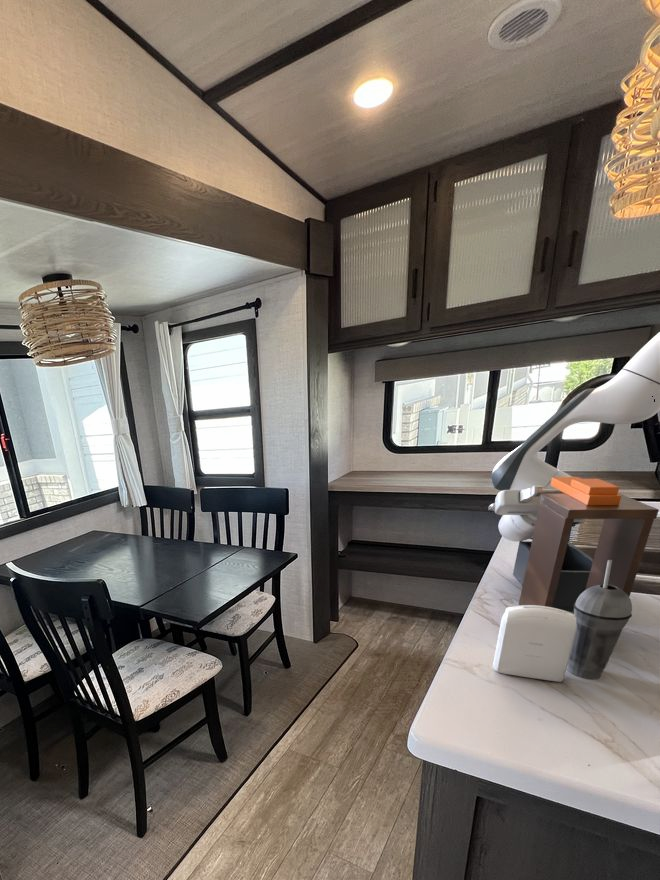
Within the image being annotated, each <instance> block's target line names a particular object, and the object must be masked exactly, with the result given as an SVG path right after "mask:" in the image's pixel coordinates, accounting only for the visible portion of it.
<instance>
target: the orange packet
mask: <svg viewBox="0 0 660 880" xmlns="http://www.w3.org/2000/svg"><path fill="white" fill-rule="evenodd" d="M550 485H551V486H552V487H554V488H556V489H558V490H560V491H562V492H564V493H565V494H567V495H569V496H571V497H573V498H575V499H577V500H578V501H580V502H582V503H584V504H586V505H619V504H620V500H621V497H622V496H621V495H619V494H620V493H619V490H620V486H618V485H616V484H613V483H610V482H608V481H605V480H603V479H601V478H581V477H579V476H572V477H552V479H551V484H550ZM618 493H619V494H618Z"/></svg>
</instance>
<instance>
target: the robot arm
mask: <svg viewBox="0 0 660 880" xmlns="http://www.w3.org/2000/svg"><path fill="white" fill-rule="evenodd" d="M652 396H653V397H652ZM654 399H655V402H654ZM658 412H660V331H659V332H658V333H656V335H654V336H653V337H652V338H651V339H650V340H649V341H647V343H646V344H644V345H643V346H642V347H641V348H640V349H639V350H638V351H637V352H636V353H635V354H634V355H633V356H632V357H631V358H630V359H629V360H628V362H626V364H625V365H624V366H623V367H622V369H621V370H620V371H619V372H617V374H616V375H615V376H613V377H612V378H610V380H608V381H607V382H605V383H604V384H602V385H599V386H598V387H596V388H595V387H593V388H591V387H590V388H585V389H584V390H582V391H581V392H579V393H578V394H576V395H575V396H574V397H572V398H571V400H569V401H568V402H567V403H566V404H564V406H562V407H561V408H560V409H559V410H557V411H556V412H555V413H554V414H553V415H551V416H550V418H548V419H547V420H546V421H545V422H544V423H543V424H541V426H539V428H538V429H536V430H535V431H534V432H533V433H532V434H531V435H529V437H528V438H526V440H524V442H523V443H521V444H520V445H519V446H518V447H516V448H515V449H514V450H512V451H511V452H509V453H508V454H506V455H505V456H504V457H502V459H501V458H500V460H499V461H498V462H497V463H496V465H495V466H494V468H493V470H492V472H491V473H490V477H491V483H492V485H493V487H494V489H496V490H497V491H499V492H498V493H497V494H496V496H495V499H494V503H491V504H489V505H488V507H487V510H488V511H489V512H490V511H491V512H492V511H493V513H495V515H499V516H501V518H500V519H499V521H498V528H497V529H498V531H499V534H500V535H501V536H502V537H503V538H505V539H506V540H508V541H510V542H514V543H515V542H518V543H519V542H520V541H527V540H530V539H533V535H534V530H535V525H536V521H537V516H538V511H539V507H540V503H541V502H540V497H541V494H565V493H564V492H562V491H560V490H558V489H556V488H554V487H552V486H551V485H550V484H551V479H552V477H573V476H572V475H570V474H569V473H567V472H564V471H563V470H561V469H559V468H556V467H555V466H553V465H551V464H549V463H547V462H545V461H544V460H542V459H541V458H539V457H538V456H537V455H538V453H539V452H540V451H541V450H542V449H543V448H544V447H546V446H547V445H548V444H549V443H550V442H552V440H553V439H555V438H556V437H557V436H558V435H560V434H561V432H563V431H564V430H566V428H568V427H570V426H572V425H575V424H578V423H601V424H609V425H631V424H636V423H641V422H644V421H645V420H648V419H650V418H652V417H653V416H655V415H656V414H658ZM586 522H587V519H574V521H573V525H572V526H575V525H582V524H584V523H586Z"/></svg>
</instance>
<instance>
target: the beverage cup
mask: <svg viewBox="0 0 660 880" xmlns="http://www.w3.org/2000/svg"><path fill="white" fill-rule="evenodd" d="M611 564H612V560H608V562H607V568H606V573H605V579H604V584H603V585H596V586H593V587H590V588H588V589H587V590H585V591H584V592H583V593H581V594H580V596H579V597H578V598H577V600H576V603H575V604H574V611H573V614H575V617H576V623H577V631H576V634H575V638H574V642H573V646H572V650H571V654H570V658H569V661H568V665H567V669H566V670H567V671H568V672H569V673H570V674H572V675H573V676H575V677H579V678H583V679H586V680H587V679H588V680H596V679H600V677H601V676H602V673H603V672H604V670H605V669H606V667H607V665H608V662H609V660H610V658H611V656H612V654H613V651H614V649H615V647H616V645H617V642H618V641H619V638H620V636H621V634H622V631H623V630H624V628H625V627H626V626H627V624H628V622H629V621H630V619H631V618H632V617H633V613H632V612H633V605H632V601H631V598H630V596H628V595H627V594H626V593H625V592H624V591H623V590H621V589H620V588H618V587H615V586H612V585H608V581H609V575H610V570H611Z"/></svg>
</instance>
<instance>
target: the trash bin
mask: <svg viewBox="0 0 660 880" xmlns="http://www.w3.org/2000/svg"><path fill="white" fill-rule="evenodd" d="M531 544H532V541H531V540H530V541H527V540H524V541H520V542H518V547H517V552H516V556H515V561H514V562H515V563H514V565H513V566H514V567H513V572H512V575H513V577H514V578H515V579H516V580H517V581H518V582H519V584H520V585H521V587H522V586H523V581H524V576H525V572H526V567H527V563H528V558H529V553H530V549H531ZM593 559H594V558H593V557H591V556H590V555H589V554H587V553H585V552H584V551H583V550H582V549H580V548H578V547H577V546H576V545H575V544H574V543H572V542H570V541H568V545H567V549H566V553H565V557H564V561H563V565H562V569H561V573H560V577H559V581H558V585H557V589H556V593H555V597H554V601H553V606H552V608H557V609H561V610H564V611H567V612H574V604H575V603H576V600H577V598H578V597H579V596H580V594H581V593H583V592H584V591H585V589H586V585H587V581H588V578H589V574H590V570H591V567H592V563H593Z"/></svg>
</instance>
